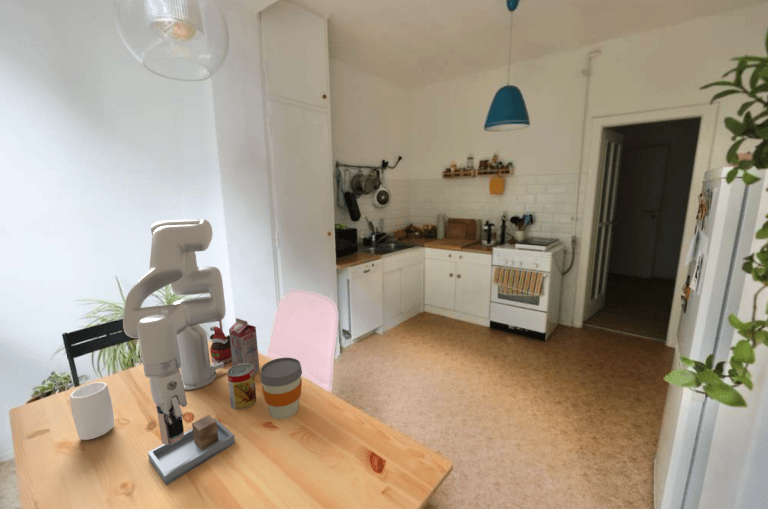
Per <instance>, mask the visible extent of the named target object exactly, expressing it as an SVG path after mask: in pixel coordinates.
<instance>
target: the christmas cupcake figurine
mask: <svg viewBox="0 0 768 509" xmlns="http://www.w3.org/2000/svg"><path fill="white" fill-rule="evenodd" d="M222 320H223V319H222ZM222 320H220V321H218V323H219V324H218V325H219V326H216V325H212V326H211V327H209V331H210V332H214V333H212V334H211V335H209V339H210V341H211V345H210V347H209V349H210V350H209V352H210V355H211V362H212V363H215V362H217V363H221V362H223V363H224V364H225V363H229V362H231V361H232V353H231V343H230V334H228V335H227V336H226V334H225V333H224V331H223V322H222Z"/></svg>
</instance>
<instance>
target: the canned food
mask: <svg viewBox="0 0 768 509" xmlns="http://www.w3.org/2000/svg"><path fill="white" fill-rule="evenodd" d="M226 372H227V374H226V375H227V383H228V392H229V400H230V407H231V408H232V409H233V410H236V411H238V410H239V411H240V410H246V409H248V408H251V407H252V406H253V405H255V404H256V402H257V390H256V381H255V375H254V369H253V365H252V364H249V363H242V364H237V365H235V366H233V365H232V366H231V367H229V369H228V370H227V371H226Z"/></svg>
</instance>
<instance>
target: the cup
mask: <svg viewBox="0 0 768 509" xmlns="http://www.w3.org/2000/svg"><path fill="white" fill-rule="evenodd" d="M69 399H70V400H69V401H70V409H71V414H72V419H73V423H74V426H75V429H76V433H77V436H78V438H79V439H80V440H84V441H87V440H92V439H95V438H98V437H101V436H103V435H105V434H107V433H108V432H109V431H111V430H112V428H113V427H114V425H115V418H114V409H113V403H112V402H113V401H112V396H111V394H110V390H109V387H108V385H107V383H106V382H102V381H101V382H100V381H97V382H91V383H88V384H84V385H83V386H80V387H77V388H76V389H75V390H73V391H72V392H71V394H70V395H69Z"/></svg>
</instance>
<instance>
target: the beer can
mask: <svg viewBox="0 0 768 509" xmlns="http://www.w3.org/2000/svg"><path fill="white" fill-rule="evenodd" d="M155 405H156V411H157V418H158V423H159V424H158V425H159V431H160V438H161V442H162V444H165V445H170V444H174V443H176V442H178V441H179V440H181V439H182V437H183V436H184V433H185V432H184V431H185V430H184V431H183V432H182V433H181V434H179V435H177V436H175V437H173V438H169V434H168V428H167V423H168V419H167V415H166V414H164V413H163V412H162V411H161V409H160V407H159V405H158V404H157V403H156V404H155ZM179 405H180V404H179ZM180 406H181V405H180ZM171 409H173V408H170V410H171ZM170 415H171V418H172V416H173V415H174V412H173V413H171V414H170Z"/></svg>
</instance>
